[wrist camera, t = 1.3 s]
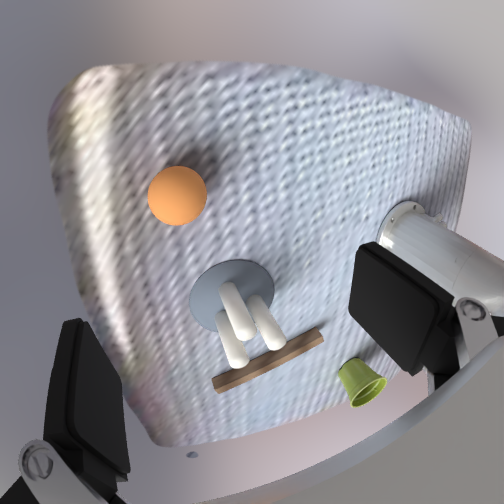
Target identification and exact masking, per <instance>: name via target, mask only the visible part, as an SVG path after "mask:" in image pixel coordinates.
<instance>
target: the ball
mask: <svg viewBox="0 0 504 504" xmlns="http://www.w3.org/2000/svg"><path fill="white" fill-rule="evenodd" d="M206 199H207V190H206V186H205V184H204V181H203V180H202V178H201V177H200V175H199V174H198V173H196V172H195V171H194V170H192V169H190V168H188V167H184V166H172V167H168V168H166V169H164V170H162V171H161V172H159V173H158V174H157V175H156V176H155V177H154V179H153V180H152V182H151V184H150V186H149V190H148V203H149V206H150V209H151V211H152V212H153V214H154V215H155V216H156V217H157V218H158V219H159V220H160V221H162V222H164V223H166V224H170V225H184V224H187V223H189V222H191V221H193V220H194V219H196V218H197V217H198V216H199V215H200V213H201V212H202V210H203V209H204V206H205V204H206Z"/></svg>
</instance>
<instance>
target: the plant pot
mask: <svg viewBox="0 0 504 504" xmlns="http://www.w3.org/2000/svg"><path fill="white" fill-rule="evenodd" d="M338 375H339V377H340V379H341V381H342V383H343V385H344V387H345V389H346V391H347V393H348V395H349V399H350V405H351V407H353V408H355V407H360V406H362V405H364V404H366V403H368V402H369V401H371V400H373V399H374V398H375V397H376V396H377V395H378V394H379V393H380V392H381V391H382V390H383V389H384V387H385V386H386V384H387V379H386V378H385V377H382V376H381V375H379V374H377V373H376V372H374V371H373V370H372V369H371V368H370V367H369V366H368V365H366V364H365V363H364V362H363V361H362V360H361V359H360V358H358V359H357V358H354V359H351V360H349V361H348V362H346V363H345V364H344V365H343V367H342V369H341V370H339V372H338Z"/></svg>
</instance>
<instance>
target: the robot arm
mask: <svg viewBox="0 0 504 504" xmlns="http://www.w3.org/2000/svg"><path fill="white" fill-rule="evenodd" d="M442 219H443V217H442V215H441V214H440V213H438V214H437V215H435V216H434V217H431V216H429V215H427V214H426V212H425V210H424V208H423V207H422V206H421V205H420V204H418V203H416V202H413V201H405V202H402V203H400V204H398V205H397V206H395V207H394V208H393V209H392V210H391V211H390V212H389V214H388V215H387V216H386V218H385V219H384V221H383V223H382V225H381V227H380V230H379V232H378V236H377V240H376V242H369V243H366V244H362V245H360V246H359V248H358V250H357V252H356V255H355V264H354V272H353V279H352V286H351V293H350V300H349V306H348V309H349V313H350V315H351V316H352V317H353V318H354V319H355V320H356V321H357V322H358V323H359V324H360V325H361V327H362V328H363V329H364V330H365V331H366V332H367V333H368V334H369V335H370V336H371V337H372V338H373V339H374V340H375V341H376V342H377V343H378V344H379V345H380V346H381V347H382V348H383V349H384V351H385V352H386V353H387V354H388V355H389V356H390V357H391V358H392V359H393V360H394V361H395V362H396V363H397V364H398V365H399V366H400V367H401V369H402V370H404V371H406V372H409V374H410V375H411V376H414V375H415V374H417V373H418V372H420V371H421V370H422V369H423V367H424V366H425V367H426V368H427V377H428V397H427V398H426V399H424V400H423V401H422V402H420V403H419V404H418V405H416V406H415V407H413V408H412V409H411V410H409V411H408V412H407V413H405V414H404V415H403V416H401V417H399V418H398V419H396V420H395V421H393V422H392V423H390V424H389V425H387V426H386V427H384V428H382V429H381V430H379V431H378V432H376V433H375V434H373V435H371V436H369V437H368V438H366V439H364V440H363V441H361V442H359V443H357V444H355V445H354V446H352V447H350V448H348V449H346V450H345V451H343V452H341V453H339V454H337V455H335V456H333V457H331V458H329V459H326V460H324V461H322V462H320V463H318V464H316V465H314V466H311V467H309V468H307V469H304V470H302V471H300V472H298V473H295V474H293V475H290V476H287V477H285V478H282V479H280V480H277V481H274V482H271V483H269V484H266V485H263V486H260V487H257V488H253V489H250V490H247V491H244V492H240V493H237V494H233V495H229V496H225V497H222V498H217V499H213V500H209V501H204V502H200V503H194V504H504V261H503V260H501V259H500V258H498V257H496V256H494V255H493V254H491V253H489V252H488V251H486V250H484V249H482V248H481V247H479V246H478V245H476V244H474V243H473V242H471V241H469V240H467V239H466V238H464V237H462V236H460V235H459V234H457V233H455V232H453V231H451V230H449V229H448V228H447V225H446V223H445V222H444V221H441V220H442ZM439 221H441V222H439ZM438 222H439V223H438ZM490 313H491V315H490ZM18 466H19V471H20V472H21V476H20V477H19V479H17V481H16V482H15V483H14V484H13V485H12V487H10V488H9V490H8V491H7V492H6V493H5V494H4V495H3V496H2V498H0V504H131V503H130V502H128V501H127V500H126V499H125V498H124V497H123V496H121V495H120V494H119V493H118V492H117V491H118V489H117V483H116V482H126V481H128V479H127V473H130V463H129V456H128V449H127V441H126V432H125V422H124V412H123V397H122V383H121V379H120V377H119V375H118V373H117V372H116V370H115V368H114V367H113V365H112V364H111V362H110V360H109V359H108V357H107V355H106V353H105V352H104V350H103V348H102V347H101V345H100V343H99V341H98V339H97V338H96V336H95V334H94V332H93V330H92V328H91V327H90V325H89V323H88V322H87V321H85V322H83V321H82V319H81V318H76V319H72V320H68V321H64V323H63V326H62V329H61V333H60V337H59V342H58V346H57V350H56V355H55V361H54V366H53V369H52V372H51V377H50V383H49V389H48V396H47V404H46V412H45V422H44V434H43V440H38V439H36V440H32V441H29V442H28V443H27V444H25V446H24V447H23V448H22V449H21V451H20V454H19V459H18Z"/></svg>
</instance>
